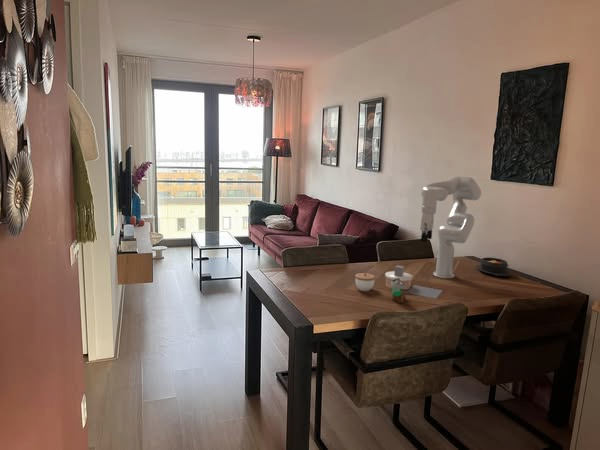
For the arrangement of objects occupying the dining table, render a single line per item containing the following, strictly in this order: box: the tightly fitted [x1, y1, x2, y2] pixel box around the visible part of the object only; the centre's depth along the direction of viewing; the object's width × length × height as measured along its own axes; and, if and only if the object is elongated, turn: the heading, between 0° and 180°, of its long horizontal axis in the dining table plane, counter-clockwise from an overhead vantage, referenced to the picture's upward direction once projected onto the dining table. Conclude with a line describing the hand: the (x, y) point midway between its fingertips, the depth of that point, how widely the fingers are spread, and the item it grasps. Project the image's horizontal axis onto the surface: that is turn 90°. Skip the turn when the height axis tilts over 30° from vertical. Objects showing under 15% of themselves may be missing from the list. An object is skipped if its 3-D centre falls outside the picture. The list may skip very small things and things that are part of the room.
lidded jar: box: [354, 272, 376, 292], centre depth 237 cm, size 11×11×9 cm
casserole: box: [475, 257, 512, 277], centre depth 280 cm, size 25×19×8 cm
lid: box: [384, 264, 413, 281], centre depth 242 cm, size 15×15×6 cm
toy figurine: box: [391, 278, 408, 304], centre depth 222 cm, size 12×6×10 cm, turn 5°
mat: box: [406, 284, 444, 300], centre depth 236 cm, size 16×16×1 cm
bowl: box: [385, 277, 412, 291], centre depth 243 cm, size 13×13×6 cm
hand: (426, 240), depth 246 cm, fingers open, 9 cm apart
